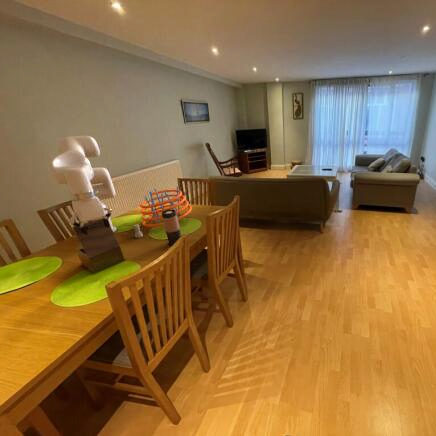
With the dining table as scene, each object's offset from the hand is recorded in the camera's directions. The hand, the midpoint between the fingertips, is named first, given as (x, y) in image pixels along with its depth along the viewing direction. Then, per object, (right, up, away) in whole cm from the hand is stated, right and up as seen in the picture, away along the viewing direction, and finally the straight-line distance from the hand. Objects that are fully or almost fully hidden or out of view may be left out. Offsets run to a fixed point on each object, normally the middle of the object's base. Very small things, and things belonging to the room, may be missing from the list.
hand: (96, 230), depth 114 cm
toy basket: (+1, +4, +64) cm, 64 cm away
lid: (-2, -3, +3) cm, 5 cm away
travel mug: (+23, -9, +31) cm, 39 cm away
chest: (-6, -18, +11) cm, 22 cm away
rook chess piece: (-5, -6, +39) cm, 40 cm away
